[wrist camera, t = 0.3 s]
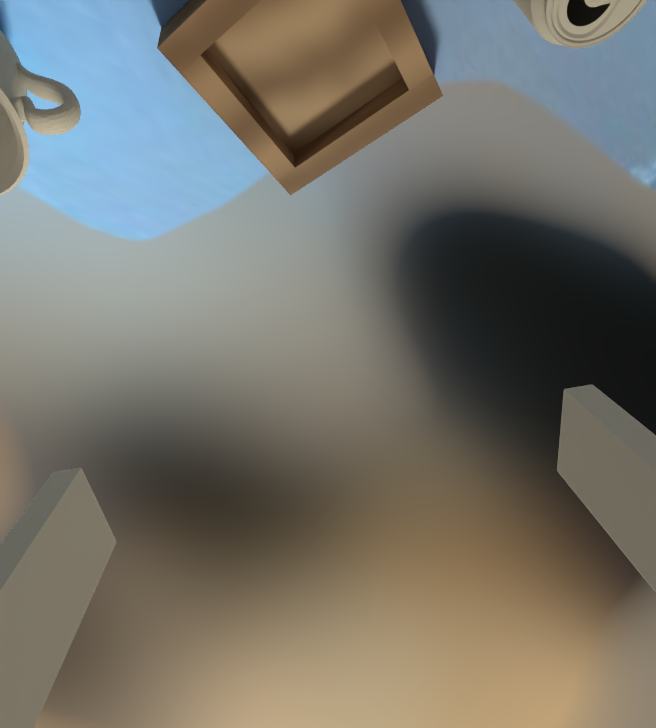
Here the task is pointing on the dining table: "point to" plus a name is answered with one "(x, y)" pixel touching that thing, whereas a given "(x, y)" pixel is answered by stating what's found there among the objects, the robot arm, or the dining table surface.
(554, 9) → the beverage can
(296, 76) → the tray
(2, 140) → the teacup
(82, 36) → the dining table surface
